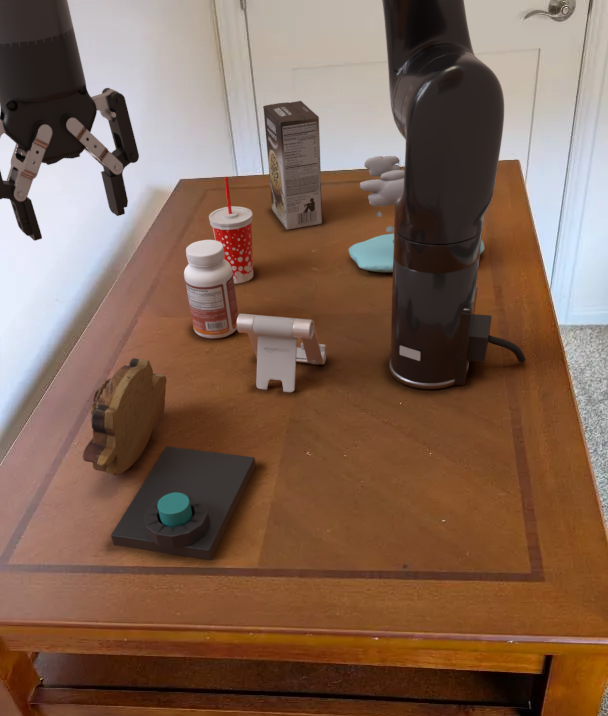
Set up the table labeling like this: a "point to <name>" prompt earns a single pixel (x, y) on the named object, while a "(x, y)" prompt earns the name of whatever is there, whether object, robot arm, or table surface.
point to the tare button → (174, 509)
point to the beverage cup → (235, 237)
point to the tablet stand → (281, 347)
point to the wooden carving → (125, 416)
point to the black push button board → (207, 499)
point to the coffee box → (294, 163)
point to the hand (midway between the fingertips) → (77, 224)
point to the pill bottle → (210, 290)
